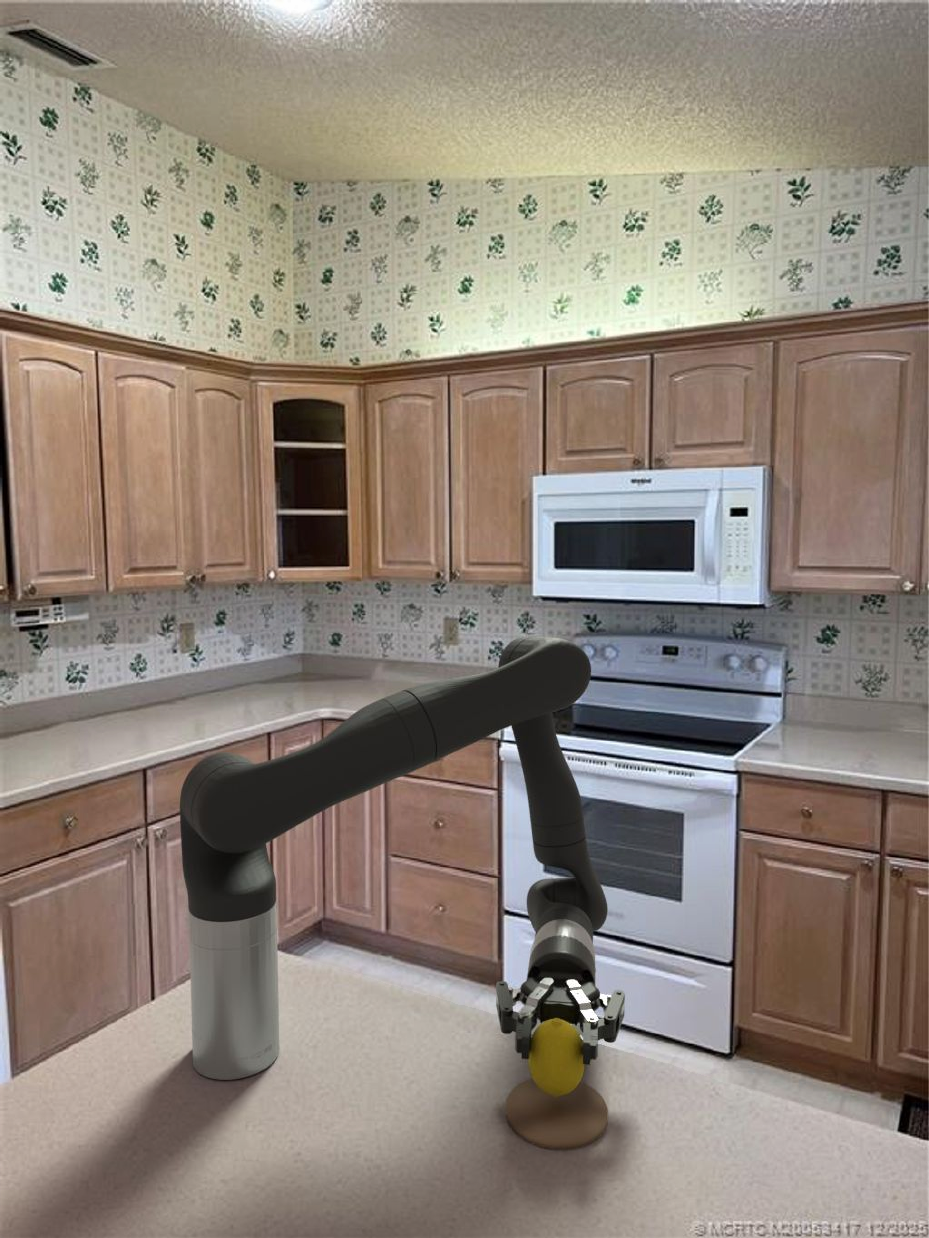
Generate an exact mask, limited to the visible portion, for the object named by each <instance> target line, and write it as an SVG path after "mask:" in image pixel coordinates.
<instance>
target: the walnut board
mask: <svg viewBox="0 0 929 1238" xmlns="http://www.w3.org/2000/svg"><path fill="white" fill-rule="evenodd" d="M608 1114H609V1112H608V1106H607V1103H606V1101H605V1099H604V1097H603V1096H602V1095H601V1094H600V1092H598V1091H597V1090H596V1089H595V1088H593V1087H592V1086H591V1085H589V1084H586V1083H585V1082H583V1081H580V1082H579V1084H578V1085H577V1087H576V1088H575V1089H574V1090H573V1091H571V1092H570V1093H568V1094H565V1095H561V1096H559V1097H554V1096H553V1095H550V1094H548V1093H546V1092H544V1091H543V1090H541V1089H540V1088H539V1087H538V1086H537V1085H536V1083H535V1082H534V1080H533V1078H532V1077H531V1078H529V1079H527V1080H524V1081H522V1082H520V1083H518V1084H517V1085H515V1087H514V1088H512V1089H511V1090H510V1092H509V1093H508V1095H507V1097H506V1101H505V1118H506V1121H507V1124H508V1126H509V1127H510V1129H511V1130H512V1132H514V1133H515V1135H517V1136H518V1137H519V1138H520V1139H522V1140H524V1141H525V1142H528V1143H529V1144H532V1145H534V1146H537V1147H541V1148H544V1149H548V1150H558V1151H559V1150H560V1151H562V1150H563V1151H565V1150H567V1151H568V1150H575V1149H580V1148H584V1147H586V1146H588V1145H591V1144H592V1143H594V1142H595V1141H597V1140H598V1139H599V1138H600V1137H601V1136H602V1135H603V1134H604V1132H605V1131H606V1129H607V1126H608V1119H609V1117H608V1116H609V1115H608Z"/></svg>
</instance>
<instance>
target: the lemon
mask: <svg viewBox="0 0 929 1238" xmlns="http://www.w3.org/2000/svg"><path fill="white" fill-rule="evenodd" d="M527 1061H528V1069H529V1072H530V1075H531V1079H532V1078H533V1080H534V1082H535V1083H536V1085H537V1086H538V1087H539V1088H540V1089H541V1090H543V1091H544V1092H546V1093H548V1094H550V1095H553V1096H554V1097H559V1096H561V1095H565V1094H568V1093H570V1092H571V1091H573V1090H574V1089H575V1088H576V1087H577V1085H578V1084H579V1082H582V1079H583V1075H584V1070H585V1065H586V1064H583V1039H582V1036H581V1035H579V1033H578V1032H577V1030H576V1029H575V1028H574V1027H573V1026H572V1024H570V1023H568V1022H566V1021H564V1020H561V1019H559V1018H554V1019H550V1020H547V1021H545V1022H543V1023H542V1024H540V1025H539V1026H538V1027H537V1028H536V1030H535V1032H534V1033H533V1034H532V1035H531V1042H530V1054H529V1059H527Z"/></svg>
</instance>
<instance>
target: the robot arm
mask: <svg viewBox="0 0 929 1238" xmlns="http://www.w3.org/2000/svg"><path fill="white" fill-rule="evenodd" d="M591 676H592V665H591V661H590V659H589V656H588V655H587V654H586V652H585V651H584V650H583V648H581V647H580V646H579V645H577V644H576V643H574V642H572V641H569V640H567V639H565V638H561V637H554V636H529V635H528V636H521V637H517V638H515V639H513V640H511V641H510V642H509V643H508V644H507V645H506V646H505V647H504V649H503V650H502V652H501V655H500V657H499V661H498V665H497V668H495V669H491V670H487V671H486V672H481V673H476V674H472V675H467V676H466V675H465V676H460V677H454V678H448V679H447V678H446V679H443V680H437V681H431V682H426V683H423V684H418V685H415V686H412V687H409V688H406V689H403V690H401V691H398V692H396V693H393V694H390V695H388V696H385V697H382V698H380V699H377V700H376V701H374V702H371V703H369V704H366V705H365V706H364V707H361V708H360V709H358V710H357V711H355V712H354V713H352V715H350V716H349V717H348V718H346V719H345V720H344V721H343V722H342V723H340V724H339V725H338V726H337V727H336V728H334V729H333V730H332V731H331V732H329V733H328V734H327V735H325V736H324V737H323V738H321V739H320V740H318V741H316V742H314V743H313V744H311V745H309V746H306V747H304V748H302V749H300V750H299V749H298V750H296V751H293V752H290V753H289V754H285V755H282V756H279V757H277V758H272V759H270V760H267V761H264V762H263V761H262V762H258V763H255V762H253V761H252V760H250V759H249V758H247V757H246V756H244V755H242V754H237V753H234V752H219V753H218V752H217V753H213V754H210V755H207V756H206V757H204V758H203V759H201V760H199V761H198V762H197V763H196V764H195V765H193V767H192V768H191V769H190V771H189V772H188V773H187V775H186V777H185V779H184V781H183V784H182V786H181V791H180V798H179V819H180V820H179V822H180V823H179V825H180V841H181V842H180V844H181V846H180V847H181V860H182V861H181V862H182V863H181V864H182V874H183V879H184V884H185V889H186V893H187V903H188V932H189V933H188V936H189V968H190V969H189V970H190V971H189V972H190V1000H191V1001H190V1005H191V1007H190V1008H191V1009H190V1010H191V1039H192V1044H191V1046H192V1064H193V1068H194V1069H195V1070H196V1072H197V1073H199V1074H200V1075H202V1076H204V1077H206V1078H208V1079H209V1078H210V1079H213V1080H220V1081H223V1080H227V1081H231V1080H238V1079H239V1080H240V1079H243V1078H248V1077H250V1076H253V1075H256V1074H258V1073H259V1072H262V1071H264V1070H265V1069H267V1068H268V1067H269V1066H271V1065H272V1064H273V1063H274V1062H275V1061H276V1059H277V1058H278V1055H279V1053H280V1014H279V1013H280V1010H279V1009H280V1007H279V1006H280V1003H279V964H278V963H279V962H278V959H279V956H278V955H279V954H278V951H279V950H278V914H277V913H278V912H277V906H278V905H277V880H276V879H277V878H276V875H275V871H274V869H273V866H272V864H271V860H270V857H269V852H268V848H267V843H269V842H271V841H274V840H275V839H277V838H279V837H280V836H282V835H284V834H285V833H287V832H289V831H290V830H292V829H293V828H295V827H297V826H299V825H300V824H303V823H304V822H306V821H307V820H309V819H311V818H313V817H315V816H316V815H318V814H320V813H322V812H324V811H326V810H327V809H330V808H331V807H333V806H335V805H338V804H340V803H342V802H344V801H346V800H350V799H352V798H354V797H356V796H358V795H362V794H363V793H365V792H368V791H371V790H372V789H375V788H378V787H380V786H381V785H384V784H386V783H388V782H391V781H394V780H396V779H398V778H401V777H404V776H406V775H408V774H411V773H413V772H415V771H417V770H420V769H421V768H424V767H427V766H428V765H430V764H433V763H435V762H437V761H439V760H441V759H443V758H445V757H448V755H452V754H453V753H456V752H459V751H461V750H462V749H464V748H466V747H469V746H470V745H473V744H475V743H477V742H480V741H481V740H483V739H486V738H487V737H490V736H492V735H494V734H495V733H497V732H500V731H502V730H503V729H506V728H508V727H511V729H512V734H513V737H514V740H515V741H514V742H515V746H516V748H517V749H516V750H517V752H518V757H519V760H520V761H519V762H520V765H521V770H522V774H523V779H524V785H525V789H526V797H527V803H528V812H529V813H528V814H529V820H530V829H531V838H532V847H533V853H534V857H535V859H536V860H537V861H538V862H539V863H540V864H542V865H544V866H547V867H552V868H556V869H557V868H558V869H561V870H565V871H567V872H569V873H571V875H573V876H572V877H571V876H570V877H556V878H554V877H553V878H552V877H551V878H543V879H540V880H537V881H536V882H534V883H533V884H532V885H531V886H530V887H529V889H528V891H527V894H526V895H527V896H526V911H527V915H528V919H529V921H530V923H531V926H532V929H533V931H534V932H535V934H534V939H533V942H532V945H531V949H530V955H529V962H528V968H527V974H526V980H525V981H524V982H523V983H522V984H521V985H520V987H509V984H508V982H506V981H503V980H499V981H497V982H496V983H495V984H496V987H495V989H496V990H495V991H496V993H495V994H496V995H495V997H496V998H495V1006H496V1010H497V1017H498V1021H499V1026H500V1031H501V1033H502V1034H504V1035H510V1034H512V1033H513V1032H514V1033H515V1036H514V1040H515V1041H514V1044H515V1045H514V1050H515V1052H516V1054H521V1060H528V1059H529V1054H530V1042H531V1038H532V1035H533V1033H534V1032H535V1030H536V1028H537V1027H538V1026H539V1025H540V1024H542V1023H543V1022H545V1021H547V1020H550V1019H554V1018H559V1019H561V1020H564V1021H566V1022H568V1023H570V1024H571V1025H572V1026H573V1027H574V1028H575V1029H576V1030H577V1032H578V1033H579V1035H580V1036H581V1038H582V1043H583V1064H585V1065H587V1066H588V1065H589V1066H590V1065H591V1060H594V1061H595V1060H597V1059H598V1057H599V1056H598V1055H599V1054H598V1052H599V1050H598V1049H599V1048H598V1047H599V1043H598V1042H599V1041H600V1040H603V1041H604V1042H606V1043H610V1044H611V1043H612V1044H613V1043H615V1042H616V1041H617V1038H618V1036H619V1035H618V1034H619V1032H620V1030H621V1026H622V1024H623V1020H624V1018H625V1007H626V1005H625V1003H626V1002H625V1000H626V996H625V995H626V993H625V991H624V990H621V989H615V990H613V992H612V994H604V993H601V991H600V990H599V988H597V986H596V973H597V971H596V970H597V967H596V952H595V948H594V932H597V931H598V930H600V929H602V927H603V925H604V924H605V922H606V921H607V917H608V913H609V912H608V911H609V910H608V902H607V901H608V900H607V897H606V895H605V892H604V889H603V887H602V884H601V883H600V880H599V878H598V876H597V873H596V870H595V868H594V866H593V865H594V864H593V863H592V859H591V856H590V854H589V852H590V851H589V849H588V843H587V837H586V827H585V818H584V810H583V801H582V798H581V794H580V791H579V788H578V785H577V783H576V780H575V777H574V776H573V773H572V771H571V768H570V766H569V764H568V761H567V760H566V757H565V754H564V753H563V751H562V747H561V745H560V743H559V739H558V736H557V732H556V729H555V723H554V717H553V713H554V712H559V711H562V710H564V709H566V708H568V707H570V706H572V705H573V704H575V703H577V701H578V700H580V698H581V697H582V696H583V695H584V693H585V692H586V690H587V688H588V686H589V684H590V681H591V678H592V677H591ZM519 1001H520V1002H521V1004H522V1005H523V1006H522V1007H521V1008H520V1009H519V1011H514V1007H515V1006H516V1005H517V1002H519ZM599 1008H601V1009H603V1013H604V1015H603V1018H598V1016H597V1014H596V1013H595V1011H597V1010H599Z"/></svg>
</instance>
